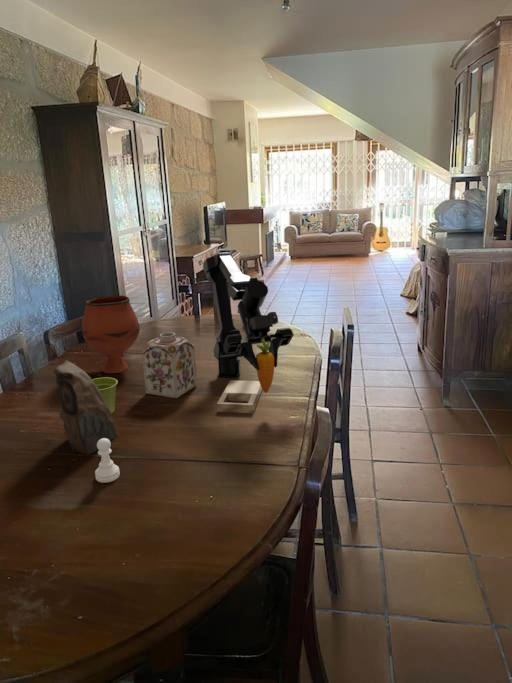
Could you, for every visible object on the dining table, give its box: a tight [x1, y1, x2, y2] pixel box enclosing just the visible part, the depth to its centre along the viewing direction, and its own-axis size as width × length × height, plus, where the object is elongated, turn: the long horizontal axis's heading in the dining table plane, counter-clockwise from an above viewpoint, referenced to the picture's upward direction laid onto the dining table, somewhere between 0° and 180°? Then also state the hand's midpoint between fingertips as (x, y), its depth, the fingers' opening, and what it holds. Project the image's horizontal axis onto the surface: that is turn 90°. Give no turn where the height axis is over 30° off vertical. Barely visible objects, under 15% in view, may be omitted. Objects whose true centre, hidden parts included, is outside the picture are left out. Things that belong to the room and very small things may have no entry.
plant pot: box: [91, 376, 119, 414], centre depth 140 cm, size 9×9×9 cm
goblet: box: [81, 294, 141, 374], centre depth 173 cm, size 19×19×25 cm
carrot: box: [255, 339, 275, 394], centre depth 135 cm, size 5×5×15 cm
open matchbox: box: [216, 379, 263, 414], centre depth 147 cm, size 10×18×2 cm, turn 171°
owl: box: [53, 359, 120, 456], centre depth 122 cm, size 13×13×20 cm
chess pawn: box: [94, 438, 121, 484], centre depth 108 cm, size 5×5×9 cm
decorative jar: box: [141, 331, 198, 399], centre depth 154 cm, size 12×12×18 cm
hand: (267, 368), depth 133 cm, fingers closed on carrot, 5 cm apart
